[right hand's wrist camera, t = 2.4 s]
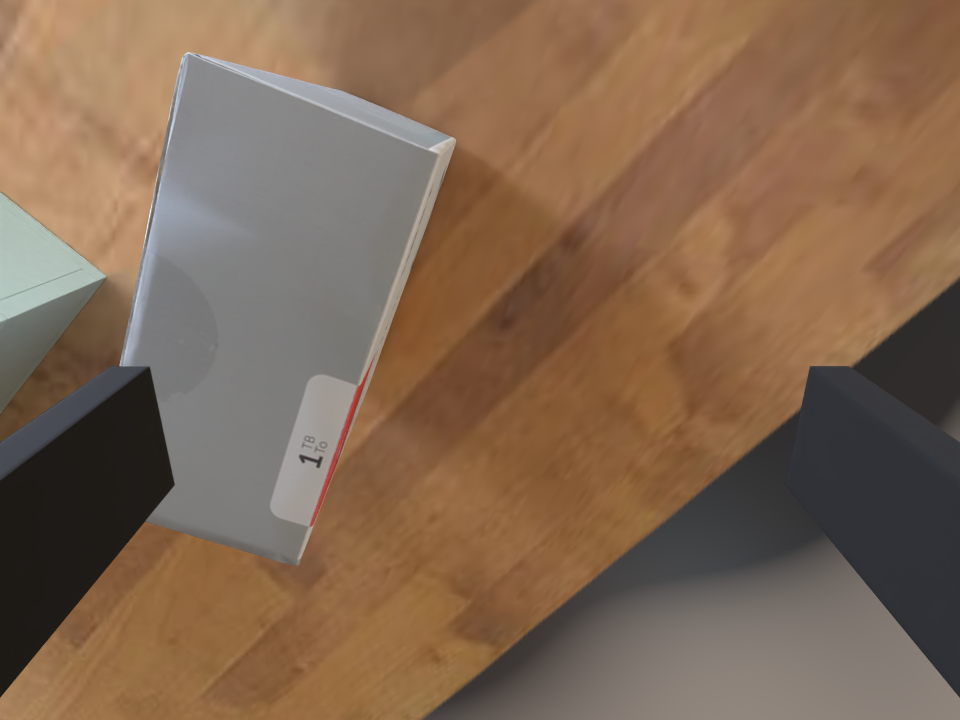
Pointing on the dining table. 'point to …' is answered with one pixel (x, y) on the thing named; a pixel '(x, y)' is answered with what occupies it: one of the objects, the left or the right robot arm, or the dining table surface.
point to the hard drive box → (271, 290)
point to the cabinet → (35, 294)
